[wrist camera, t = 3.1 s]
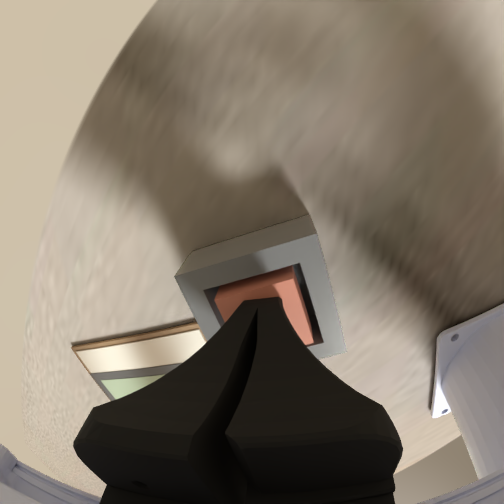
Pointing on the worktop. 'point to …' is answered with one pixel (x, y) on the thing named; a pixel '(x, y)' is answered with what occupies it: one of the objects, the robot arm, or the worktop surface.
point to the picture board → (138, 357)
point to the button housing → (261, 261)
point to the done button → (266, 287)
